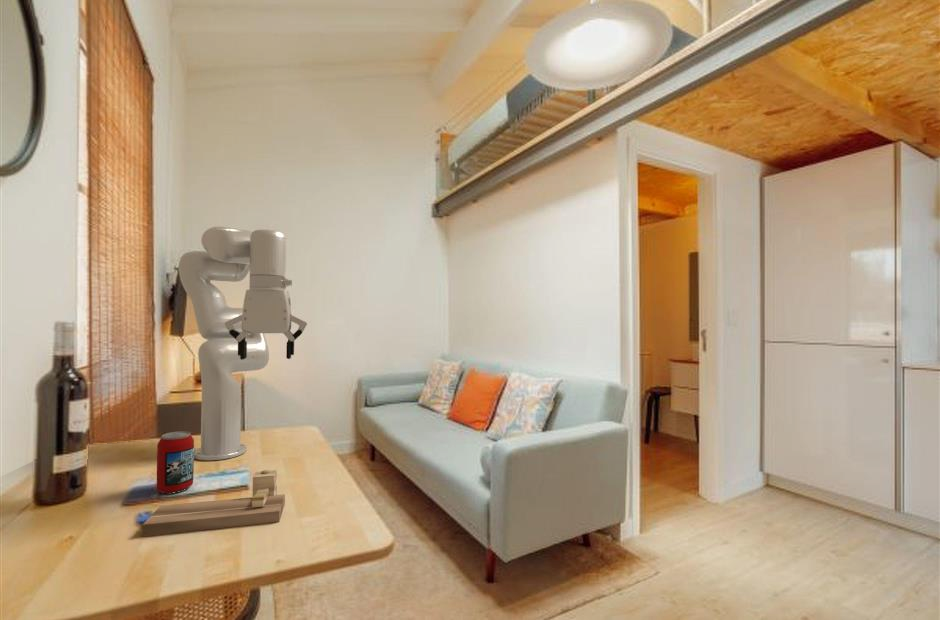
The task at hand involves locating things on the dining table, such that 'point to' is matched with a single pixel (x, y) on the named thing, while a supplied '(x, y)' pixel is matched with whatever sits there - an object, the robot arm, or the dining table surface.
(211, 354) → the robot arm
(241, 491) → the dining table surface
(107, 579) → the dining table surface
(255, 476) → the block
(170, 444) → the beverage can
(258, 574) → the dining table surface
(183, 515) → the board
